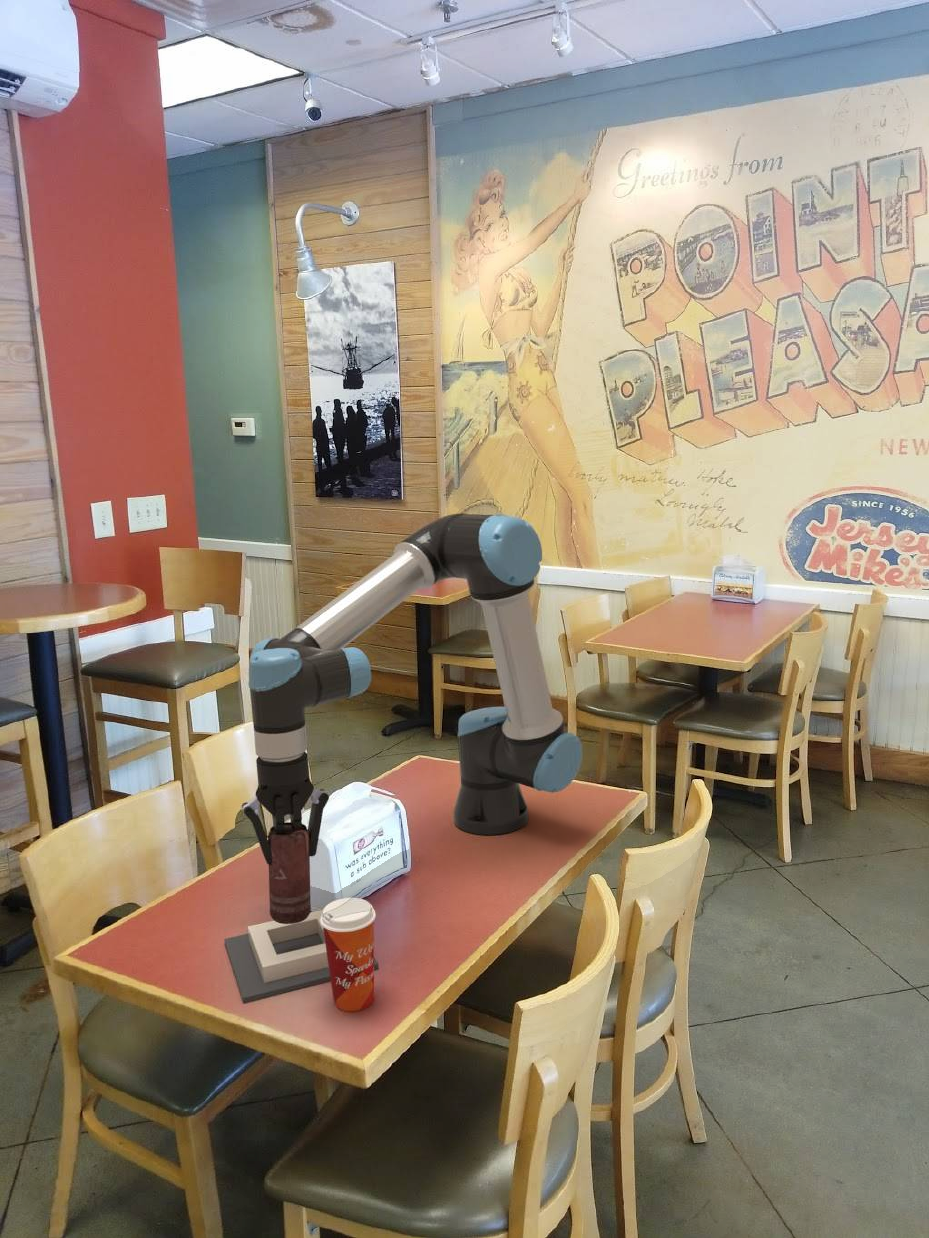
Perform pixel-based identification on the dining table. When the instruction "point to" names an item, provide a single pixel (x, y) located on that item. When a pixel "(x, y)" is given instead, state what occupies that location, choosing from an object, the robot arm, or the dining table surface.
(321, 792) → the robot arm
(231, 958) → the mat
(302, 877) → the can
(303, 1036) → the dining table surface
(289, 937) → the holder
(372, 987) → the paper cup
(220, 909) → the dining table surface
